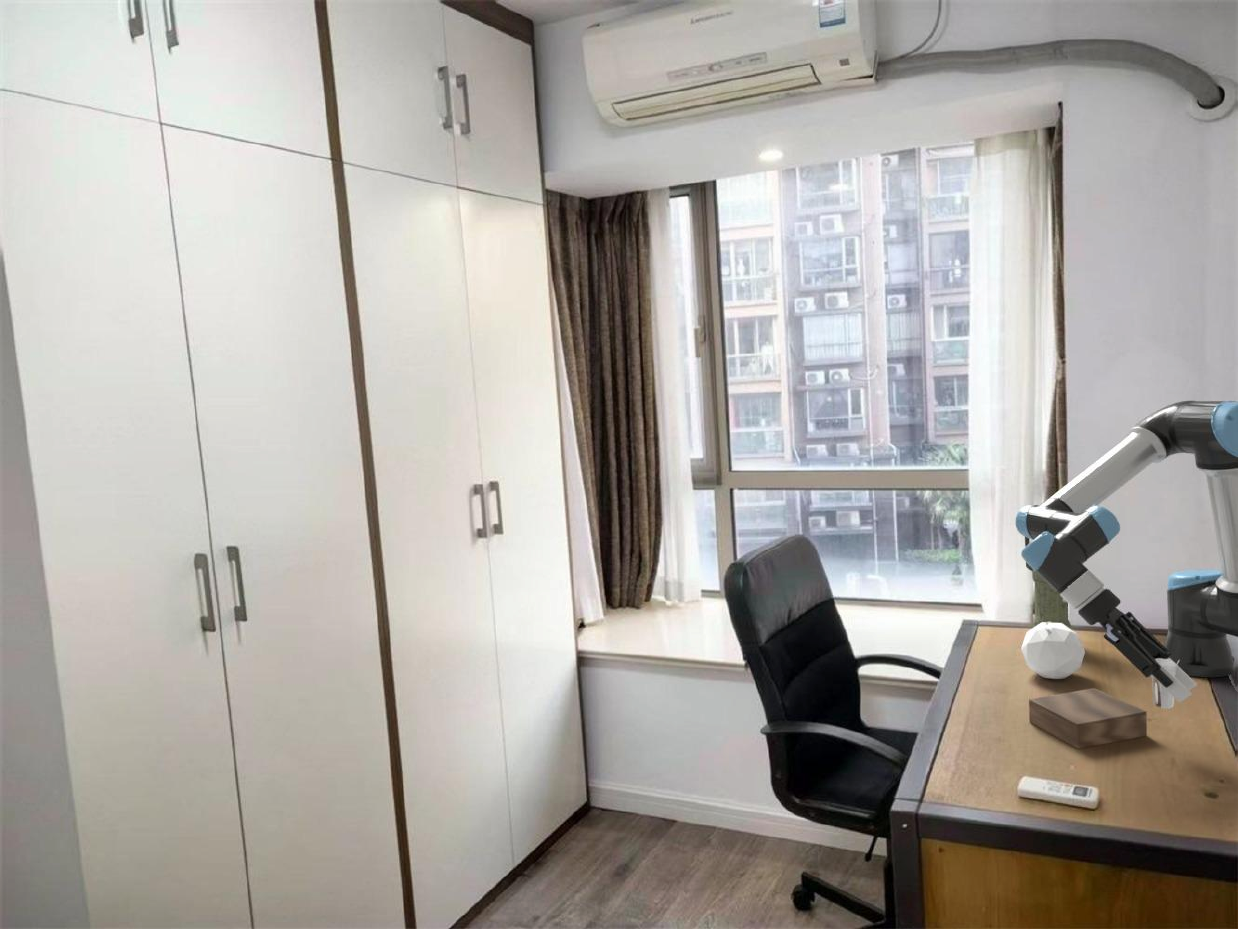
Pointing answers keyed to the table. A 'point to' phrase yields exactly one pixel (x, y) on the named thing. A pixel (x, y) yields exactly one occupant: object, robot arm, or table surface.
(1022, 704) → the table surface
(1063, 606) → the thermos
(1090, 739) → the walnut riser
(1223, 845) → the table surface
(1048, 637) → the geodesic sphere
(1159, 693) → the milkshake
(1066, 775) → the table surface
